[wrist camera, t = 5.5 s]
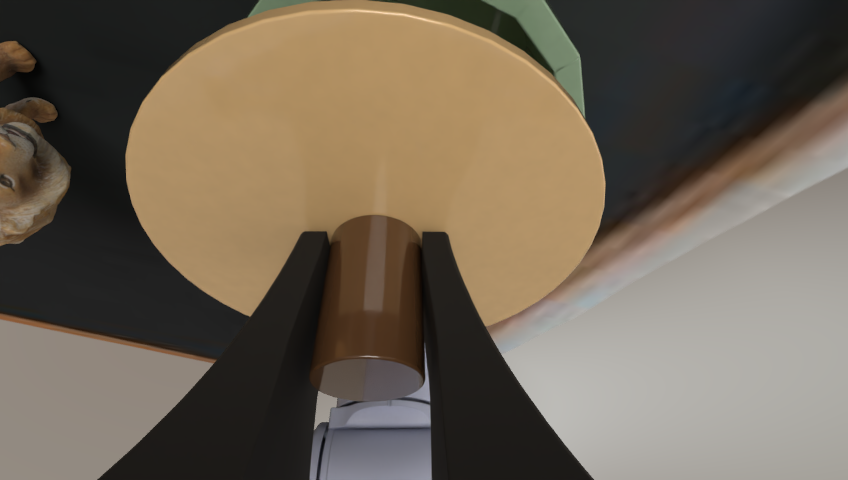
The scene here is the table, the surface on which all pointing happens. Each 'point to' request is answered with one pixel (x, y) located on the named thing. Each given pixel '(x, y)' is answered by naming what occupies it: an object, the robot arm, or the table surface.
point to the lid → (365, 173)
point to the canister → (503, 31)
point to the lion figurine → (27, 158)
